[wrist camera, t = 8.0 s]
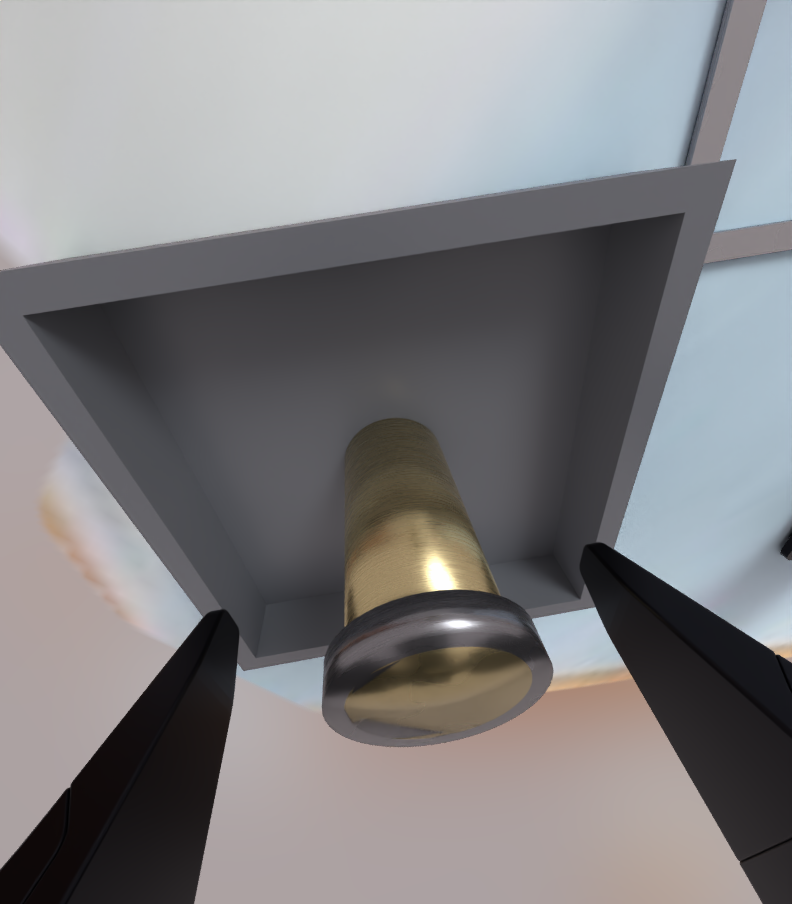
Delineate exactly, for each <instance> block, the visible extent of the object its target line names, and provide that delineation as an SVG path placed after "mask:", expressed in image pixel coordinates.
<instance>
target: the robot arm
mask: <svg viewBox="0 0 792 904" xmlns="http://www.w3.org/2000/svg"><path fill="white" fill-rule="evenodd" d="M780 554H781V555H783V556H784V557H785V558H786V559H788V560H792V535H791V537H790V538H789V540H788V541H787V542H786V544H785V545H784V547H783V548H782V550H781V552H780ZM579 569H580V573H581V576H582V578H583V580H584V583H585V585H586V587H587V589H588V591H589V594H590V596H591V598H592V600H593V603H594V605H595V607H596V609H597V611H598V614H599V616H600V618H601V620H602V623H603V625H604V627H605V629H606V631H607V633H608V635H609V637H610V639H611V640H612V642H613V644H614V646H615V647H616V649H617V651H618V653H619V654H620V656H621V658H622V660H623V661H624V663H625V665H626V667H627V668H628V670H629V672H630V674H631V675H632V677H633V679H634V680H635V682H636V684H637V685H638V687H639V689H640V691H641V693H642V694H643V696H644V698H645V700H646V701H647V703H648V705H649V707H650V708H651V710H652V712H653V713H654V715H655V717H656V718H657V720H658V722H659V724H660V726H661V727H662V729H663V731H664V733H665V734H666V736H667V738H668V739H669V741H670V743H671V745H672V746H673V748H674V750H675V752H676V753H677V755H678V757H679V759H680V760H681V762H682V764H683V765H684V767H685V769H686V771H687V773H688V774H689V776H690V778H691V779H692V781H693V783H694V785H695V786H696V788H697V790H698V792H699V793H700V795H701V797H702V799H703V800H704V802H705V804H706V806H707V807H708V809H709V811H710V812H711V814H712V816H713V818H714V819H715V821H716V822H717V824H718V826H719V828H720V829H721V832H722V833H723V835H724V837H725V838H726V840H727V842H728V844H729V845H730V847H731V849H732V851H733V852H734V854H735V856H736V858H737V859H738V860H739V861H740V865H741V867H742V868H743V870H744V872H745V874H746V875H747V877H748V879H749V881H750V882H751V884H752V886H753V888H754V889H755V891H756V893H757V895H758V896H759V898H760V900H761V902H762V903H763V904H792V663H791V662H789V661H788V660H786V659H785V658H783V657H782V656H780V655H775V653H774V652H773V651H772V650H770V649H769V648H767V647H766V646H764V645H763V644H761V643H759V642H758V641H756V640H755V639H753V638H752V637H750V636H749V635H747V634H745V633H744V632H742V631H741V630H739V629H738V628H736V627H734V626H733V625H731V624H730V623H728V622H727V621H725V620H724V619H722V618H720V617H719V616H717V615H716V614H714V613H713V612H711V611H709V610H708V609H706V608H705V607H703V606H702V605H700V604H698V603H697V602H695V601H694V600H692V599H691V598H689V597H688V596H686V595H684V594H683V593H681V592H680V591H678V590H677V589H675V588H673V587H672V586H670V585H669V584H667V583H666V582H664V581H663V580H661V579H659V578H658V577H656V576H655V575H653V574H652V573H650V572H648V571H647V570H645V569H644V568H642V567H641V566H639V565H637V564H636V563H634V562H633V561H631V560H630V559H628V558H627V557H625V556H623V555H622V554H620V553H619V552H617V551H616V550H614V549H612V548H611V547H609V546H608V545H606V544H604V543H602V542H596V543H591V544H586V545H585V546H584V548H583V551H582V555H581V560H580V564H579ZM239 636H240V633H239V628H238V625H237V624H236V622H235V621H234V619H233V618H232V616H231V615H230V613H229V612H228V611H227V610H226V609H220V610H215V611H210V612H208V613H207V614H206V615H205V616H204V617H203V618H202V620H201V621H200V622H199V623H198V625H197V626H196V627H195V628H194V630H193V631H192V632H191V633H190V635H189V636H188V637H187V638H186V640H185V641H184V642H183V643H182V645H181V646H180V647H179V648H178V650H177V651H176V652H175V653H174V655H173V656H172V657H171V659H170V660H169V661H168V662H167V664H166V665H165V666H164V667H163V669H162V670H161V671H160V672H159V674H158V675H157V676H156V677H155V679H154V680H153V681H152V682H151V684H150V685H149V686H148V688H147V689H146V690H145V691H144V692H143V694H142V695H141V696H140V697H139V699H138V700H137V701H136V702H135V704H134V705H133V706H132V708H131V709H130V710H129V711H128V713H127V714H126V715H125V716H124V718H123V719H122V720H121V721H120V723H119V724H118V725H117V727H116V728H115V729H114V730H113V732H112V733H111V734H110V735H109V736H108V738H107V739H106V740H105V741H104V743H103V744H102V745H101V746H100V748H99V749H98V750H97V751H96V753H95V754H94V755H93V757H92V758H91V759H90V760H89V762H88V763H87V764H86V765H85V767H84V768H83V769H82V770H81V772H80V773H79V774H78V775H77V777H76V778H75V779H74V780H73V782H72V783H71V787H70V788H67V789H66V790H65V791H64V793H63V794H62V795H61V797H60V798H59V799H58V800H57V801H56V803H55V804H54V805H53V806H52V808H51V809H50V810H49V812H48V813H47V814H46V815H45V816H44V818H43V819H42V820H41V822H40V823H39V824H38V825H37V826H36V827H35V829H34V830H33V831H32V832H31V834H30V835H29V836H28V837H27V839H26V840H25V841H24V842H23V843H22V845H21V846H20V847H19V848H18V849H17V851H16V852H15V853H14V854H13V855H12V856H11V858H10V859H9V860H8V861H7V862H6V863H5V865H4V866H3V867H2V868H1V869H0V904H194V901H195V896H196V891H197V885H198V881H199V876H200V870H201V865H202V860H203V855H204V850H205V845H206V840H207V835H208V829H209V824H210V819H211V814H212V808H213V804H214V799H215V794H216V789H217V784H218V778H219V773H220V768H221V763H222V758H223V753H224V747H225V742H226V737H227V732H228V727H229V722H230V717H231V711H232V706H233V699H234V691H235V680H236V669H237V658H238V648H239Z"/></svg>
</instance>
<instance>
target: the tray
mask: <svg viewBox="0 0 792 904" xmlns="http://www.w3.org/2000/svg"><path fill="white" fill-rule="evenodd" d="M735 162H736V159H735V160H727V161H719V162H711V163H703V164H695V165H687V166H679V167H671V168H663V169H655V170H647V171H639V172H632V173H625V174H619V175H612V176H605V177H599V178H592V179H586V180H579V181H573V182H566V183H560V184H553V185H546V186H540V187H533V188H527V189H520V190H514V191H507V192H501V193H494V194H487V195H481V196H474V197H468V198H461V199H455V200H448V201H442V202H435V203H428V204H422V205H415V206H409V207H402V208H396V209H389V210H383V211H376V212H369V213H363V214H356V215H350V216H343V217H337V218H330V219H323V220H317V221H310V222H304V223H297V224H291V225H284V226H278V227H271V228H264V229H258V230H251V231H245V232H238V233H232V234H225V235H219V236H212V237H205V238H199V239H192V240H186V241H179V242H173V243H166V244H160V245H153V246H146V247H140V248H133V249H127V250H120V251H114V252H107V253H101V254H94V255H87V256H81V257H74V258H68V259H61V260H55V261H49V262H44V263H38V264H33V265H27V266H22V267H16V268H11V269H5V270H0V345H1V346H2V348H3V349H4V351H5V352H6V353H7V355H8V356H9V357H10V359H11V360H12V361H13V363H14V364H15V365H16V367H17V368H18V369H19V371H20V372H21V373H22V375H23V376H24V378H25V379H26V380H27V382H28V383H29V384H30V386H31V387H32V388H33V389H34V391H35V392H36V394H37V395H38V396H39V397H40V399H41V400H42V401H43V403H44V404H45V406H46V407H47V408H48V410H49V411H50V412H51V414H52V415H53V416H54V418H55V419H56V420H57V421H58V423H59V424H60V426H61V427H62V428H63V430H64V431H65V432H66V434H67V435H68V436H69V438H70V439H71V440H72V442H73V443H74V444H75V446H76V447H77V449H78V450H79V451H80V453H81V454H82V455H83V457H84V458H85V459H86V461H87V462H88V463H89V465H90V466H91V467H92V469H93V470H94V471H95V473H96V474H97V475H98V477H99V478H100V479H101V481H102V482H103V483H104V485H105V486H106V487H107V489H108V490H109V491H110V493H111V494H112V495H113V497H114V498H115V499H116V501H117V502H118V503H119V505H120V506H121V507H122V509H123V510H124V511H125V513H126V514H127V515H128V517H129V518H130V520H131V521H132V522H133V524H134V525H135V526H136V528H137V529H138V530H139V532H140V533H141V534H142V536H143V537H144V538H145V540H146V541H147V542H148V544H149V545H150V546H151V548H152V549H153V550H154V552H155V553H156V554H157V556H158V557H159V558H160V560H161V561H162V562H163V564H164V565H165V566H166V568H167V569H168V570H169V572H170V573H171V574H172V576H173V577H174V578H175V580H176V581H177V582H178V584H179V585H180V586H181V588H182V589H183V590H184V592H185V593H186V595H187V596H188V597H189V599H190V600H191V601H192V603H193V604H194V605H195V607H196V608H197V609H198V611H199V612H200V613H201V615H202V616H203V617H204V616H205V615H206V614H207V613H208V612H210V611H215V610H220V609H226V610H227V611H228V612H229V613H230V615H231V616H232V618H233V619H234V621H235V622H236V624H237V625H238V628H239V633H240V636H239V648H238V658H237V663H238V664H239V665H240V667H241V668H242V670H243V671H246V670H251V669H257V668H262V667H268V666H273V665H279V664H284V663H290V662H295V661H301V660H306V659H312V658H317V657H323V656H325V654H326V651H327V649H328V647H329V645H330V643H331V642H332V640H333V639H334V637H335V636H336V635H337V634H338V633H339V632H340V631H341V630H342V629H343V628H344V598H345V453H346V450H347V447H348V445H349V443H350V441H351V440H352V438H353V437H354V436H355V435H356V434H357V433H358V432H359V431H360V430H361V429H363V428H364V427H366V426H367V425H369V424H371V423H373V422H376V421H379V420H382V419H387V418H406V419H410V420H414V421H416V422H419V423H421V424H423V425H424V426H426V427H427V428H428V429H430V430H431V432H432V433H433V434H434V435H435V436H436V438H437V440H438V442H439V444H440V447H441V449H442V452H443V454H444V457H445V459H446V462H447V464H448V467H449V469H450V471H451V474H452V476H453V479H454V481H455V484H456V486H457V489H458V491H459V494H460V496H461V499H462V501H463V504H464V506H465V509H466V511H467V513H468V516H469V518H470V521H471V523H472V526H473V528H474V531H475V533H476V536H477V538H478V541H479V543H480V546H481V548H482V551H483V553H484V555H485V558H486V560H487V563H488V565H489V568H490V570H491V573H492V575H493V578H494V580H495V583H496V585H497V588H498V590H499V593H500V595H501V596H502V597H505V598H508V599H509V600H511V601H513V602H515V603H517V604H518V605H520V606H521V607H522V608H523V609H525V611H526V612H527V613H528V614H529V615H530V617H531V619H533V618H538V617H544V616H549V615H555V614H560V613H566V612H571V611H577V610H582V609H588V608H593V607H595V605H594V603H593V600H592V598H591V596H590V594H589V591H588V589H587V587H586V585H585V583H584V580H583V578H582V576H581V573H580V569H579V564H580V560H581V555H582V551H583V548H584V546H585V545H586V544H591V543H596V542H602V543H604V544H606V545H608V546H609V547H611V548H612V549H614V546H615V543H616V540H617V537H618V533H619V530H620V527H621V524H622V521H623V518H624V514H625V511H626V508H627V505H628V502H629V499H630V495H631V492H632V489H633V486H634V483H635V479H636V476H637V473H638V470H639V467H640V464H641V460H642V457H643V454H644V451H645V448H646V445H647V441H648V438H649V435H650V432H651V429H652V426H653V422H654V419H655V416H656V413H657V410H658V406H659V403H660V400H661V397H662V394H663V391H664V387H665V384H666V381H667V378H668V375H669V372H670V368H671V365H672V362H673V359H674V356H675V353H676V349H677V346H678V343H679V340H680V337H681V334H682V330H683V327H684V324H685V321H686V318H687V314H688V311H689V308H690V305H691V302H692V299H693V295H694V292H695V289H696V286H697V283H698V280H699V276H700V273H701V270H702V267H703V264H704V261H705V257H706V254H707V251H708V248H709V245H710V241H711V238H712V235H713V232H714V229H715V226H716V222H717V219H718V216H719V213H720V210H721V207H722V203H723V200H724V197H725V194H726V191H727V188H728V184H729V181H730V178H731V175H732V172H733V169H734V165H735Z"/></svg>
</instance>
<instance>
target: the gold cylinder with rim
mask: <svg viewBox="0 0 792 904" xmlns="http://www.w3.org/2000/svg"><path fill="white" fill-rule="evenodd" d="M552 677H553V666H552V662H551V660H550V658H549V656H548V654H547V652H546V649H545V647H544V645H543V643H542V641H541V638H540V636H539V634H538V632H537V630H536V627H535V625H534V623H533V621H532V619H531V617H530V615H529V614H528V613H527V612H526V611H525V609H523V608H522V607H521V606H520V605H518V604H517V603H515V602H513V601H511V600H509V599H508V598H505V597H502V596H501V595H500V593H499V590H498V588H497V585H496V583H495V580H494V578H493V575H492V573H491V570H490V568H489V565H488V563H487V560H486V558H485V555H484V553H483V551H482V548H481V546H480V543H479V541H478V538H477V536H476V533H475V531H474V528H473V526H472V523H471V521H470V518H469V516H468V513H467V511H466V509H465V506H464V504H463V501H462V499H461V496H460V494H459V491H458V489H457V486H456V484H455V481H454V479H453V476H452V474H451V471H450V469H449V467H448V464H447V462H446V459H445V457H444V454H443V452H442V449H441V447H440V444H439V442H438V440H437V438H436V436H435V435H434V434H433V433H432V432H431V430H430V429H428V428H427V427H426V426H424V425H423V424H421V423H419V422H416V421H414V420H410V419H406V418H387V419H382V420H379V421H376V422H373V423H371V424H369V425H367V426H366V427H364V428H363V429H361V430H360V431H359V432H358V433H357V434H356V435H355V436H354V437H353V438H352V440H351V441H350V443H349V445H348V447H347V450H346V453H345V598H344V628H343V629H342V630H341V631H340V632H339V633H338V634H337V635H336V636H335V637H334V639H333V640H332V642H331V643H330V645H329V647H328V649H327V651H326V654H325V659H324V674H323V695H322V713H323V717H324V719H325V721H326V722H327V724H328V725H329V726H330V727H331V728H332V729H333V730H334V731H335V732H337V733H339V734H340V735H342V736H344V737H346V738H348V739H351V740H354V741H357V742H360V743H365V744H370V745H377V746H387V747H414V746H425V745H434V744H440V743H446V742H450V741H454V740H459V739H463V738H466V737H470V736H473V735H476V734H479V733H482V732H485V731H488V730H490V729H493V728H495V727H497V726H499V725H502V724H504V723H506V722H508V721H510V720H511V719H513V718H515V717H517V716H518V715H520V714H521V713H523V712H525V711H526V710H527V709H528V708H530V707H531V706H533V705H534V704H535V703H536V702H537V701H538V700H539V699H540V698H541V697H542V696H543V694H544V693H545V692H546V690H547V689H548V687H549V685H550V683H551V680H552Z"/></svg>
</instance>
